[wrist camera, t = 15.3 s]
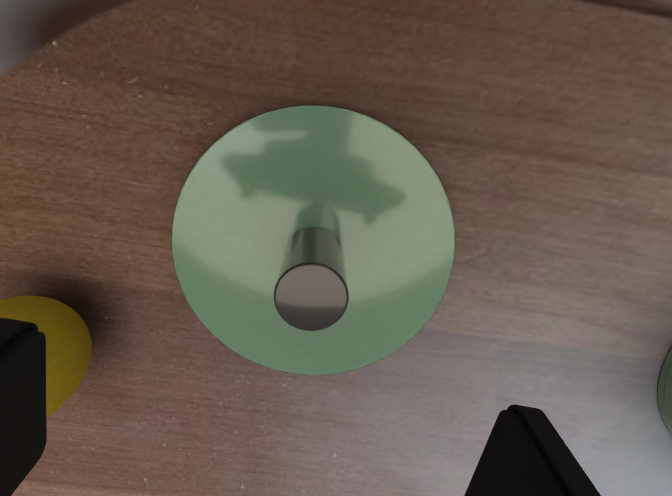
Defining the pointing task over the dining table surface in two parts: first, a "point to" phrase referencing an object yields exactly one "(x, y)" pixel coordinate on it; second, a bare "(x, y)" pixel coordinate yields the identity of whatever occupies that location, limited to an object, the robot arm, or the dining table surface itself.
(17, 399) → the robot arm
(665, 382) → the pot
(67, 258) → the dining table surface
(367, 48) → the dining table surface
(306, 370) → the pot lid
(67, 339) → the lemon
